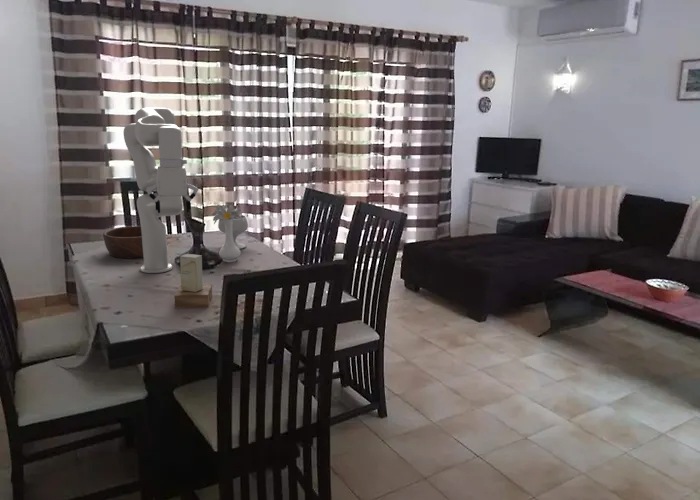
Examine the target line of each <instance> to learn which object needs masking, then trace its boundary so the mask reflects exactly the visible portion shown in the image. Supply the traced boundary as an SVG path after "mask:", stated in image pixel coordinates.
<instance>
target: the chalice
mask: <svg viewBox="0 0 700 500" xmlns="http://www.w3.org/2000/svg"><path fill="white" fill-rule="evenodd" d="M241 217H242V218H243V220H244V221H243V220H241V219H240V218H237V217H234V220H233V225H232V231H233V240H234V243H235V245H236V246H237V247H238V248H239V250H242V249H245V248H246V247H247V245H246V244H245V243H241V242H237V241H236V240H237V237H238V236H240V235H242V234H243V233H245V232H246V231H247V230H248V228H249V223H248V220H247V218H246V216H245V215H243V214H242V215H241ZM217 228H218V230H219V231H220V232H221V233H222V234H225V235H226V229H225V223H224V220H223V221H220V220H219V219H218V224H217ZM223 246H224V244H222V245H221V246H220V249H221V248H222V247H223Z"/></svg>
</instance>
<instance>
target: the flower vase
mask: <svg viewBox="0 0 700 500" xmlns="http://www.w3.org/2000/svg"><path fill="white" fill-rule="evenodd" d="M242 213H243V212H242V210H241V209H239V206H238V205H236V208H235V207H234V205H232V204H230V205H229V207H228V206H227V204H222V206H220V205H219V204H218V205H217V206H216V208H215V209H214V212H213V213H212V214H211V215H212V216H214V217H213V219H212V222H213V225H215V224H216V223H217V222H218V221H219V220H220V221H223V220H224V223H225V229H226V234H225V239H224V244H223V245H224V246H223V247H222V248H221V247H220V249H219V252H218V255H219V257H220V259H222V261H223V262H224V263H234V262H237V261H238V258H239V257H240V256H241V253H242V252H241V249H239V248H238V247H237V246H236V245H235V243H234V240H233V231H232V225H233V220H234V217H237V218H240V219H241V220H243V218H242V217H241V215H243V214H242ZM243 221H244V220H243Z"/></svg>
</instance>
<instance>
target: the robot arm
mask: <svg viewBox="0 0 700 500" xmlns="http://www.w3.org/2000/svg"><path fill="white" fill-rule="evenodd" d="M134 120H135V122H134V123H129V124H127V125H125V126H124V128H123V139H124V143H125V146H126V148H127V151H128V153H129V154H130V155H131V158H132V161H133V168H134V174H135V179H136V184H137V187H138V189H139V190H141V191H142V192H147V193H146V194H145V193H144V194H141V195H139V197H137V199H136V207H137V208H136V209H137V212H138V215H139V222H140V226H141V233H142V245H143V257H142V259H143V265H141V266H140V267H139V268H140V269H139V270H140V272H142V273H146V274H158V273H159V274H160V273H165V272H168V271H171V270H172V269H173V265H172V264H171V263H169V258H168V255H169V254H168V237H167V228H166V225H165V224H164V222H162V220H160V219H159V218H160V217H161V218H162V217H170V216H171V217H172V216H178V215H180V214H181V213H182V212H183V209H184V208H183V207H184V206H183V200H182V197H184V198H185V199H186V200H185V202H186V203H185V204H186V213H189V212H190V210H191V209H192V207H191V201H192V200H193V199H194V198H195V197H196V195H197V193H198V191H199V188H198V187H197V186H195V185H193V184H191V183H188V174H187V171H186V166H184V165H187V164H188V161H187V159H183V146H182V145H183V144H182V130H181V128H180V127H178V125H176V116H175V113H174V112H173V110H172V109H170V108H168V107H142V108H139V109H138V110H137V111H136V112H135V115H134ZM148 147H158V156H159V157H158V158H159V160H158V161H159V166H157V162H156V157H155V155H154V153H152V151H151V150H150V149H149V148H148ZM188 189H190V190H192V193H191V194H189V193H188ZM153 192H155V193H153Z"/></svg>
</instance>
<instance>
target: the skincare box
mask: <svg viewBox="0 0 700 500" xmlns="http://www.w3.org/2000/svg"><path fill="white" fill-rule="evenodd" d="M202 256H203V255H202V254H201V255H200V254H193V253H185V254H182V255H180V256H179V260H180V261H179V262H180V265H179V266H180V267H179V268H180V285H181V290H185V291H193V292H197V291H199V290H201V289H203V285H204V284H203V257H202Z"/></svg>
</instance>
